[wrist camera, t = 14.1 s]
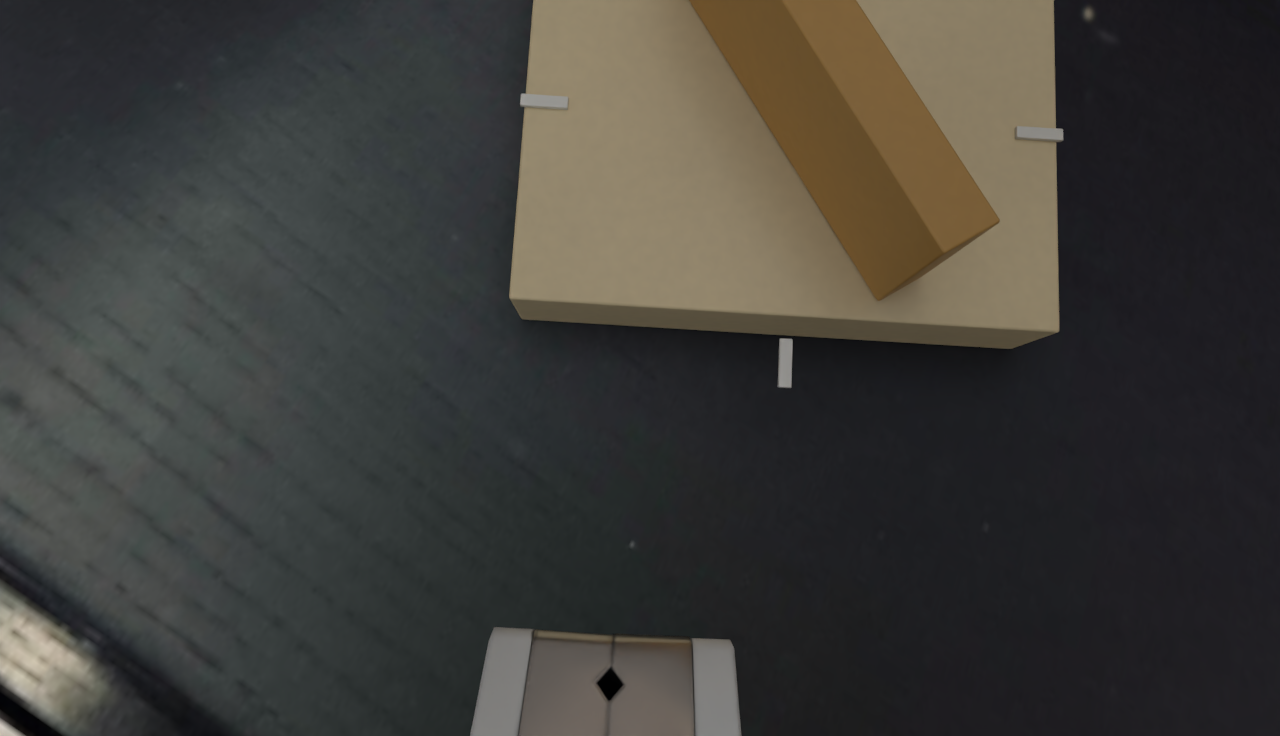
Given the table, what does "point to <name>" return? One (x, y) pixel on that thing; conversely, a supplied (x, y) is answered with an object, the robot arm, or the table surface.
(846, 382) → the table surface
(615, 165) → the dial panel
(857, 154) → the pointer
